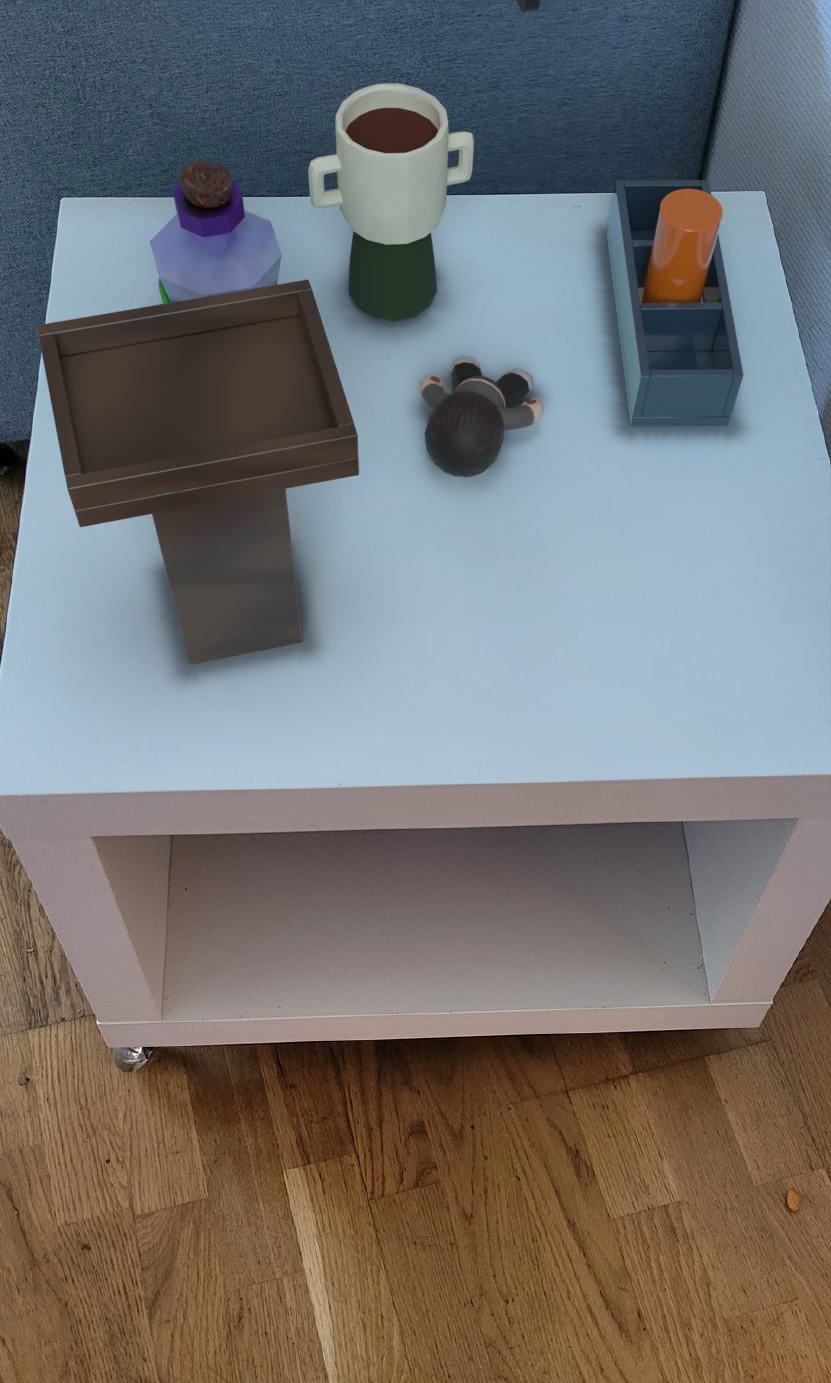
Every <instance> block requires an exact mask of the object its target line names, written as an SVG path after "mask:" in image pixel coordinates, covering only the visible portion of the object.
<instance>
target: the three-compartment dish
mask: <svg viewBox="0 0 831 1383" xmlns="http://www.w3.org/2000/svg"><path fill="white" fill-rule="evenodd" d="M680 189H697V190H701V191H704V192H706V193H708V194H710V195H712V191H711V184H710V180H709V179H701V180H700V179H684V180H683V179H682V180H681V179H680V180H679V179H678V180H677V179H676V180H675V179H672V180H671V179H669V180H668V179H667V180H666V179H665V180H664V179H662V180H659V179H657V180H655V179H654V180H653V179H652V180H649V179H647V180H614V187H613V193H612V198H611V203H610V210H609V216H608V222H607V229H606V241H607V242H606V243H607V249H608V257H609V265H610V274H611V282H612V290H613V298H614V304H615V305H614V306H615V312H616V313H615V314H616V322H617V330H618V338H619V344H620V351H621V352H620V353H621V362H622V368H623V369H622V370H623V377H624V386H625V393H626V401H627V402H626V403H627V409H628V416H629V426H630V427H687V426H689V427H692V426H693V427H694V426H699V427H700V426H701V427H702V426H703V427H704V426H705V427H706V426H708V427H709V426H729V424H730V421H731V416H732V414H733V411H734V408H735V404H736V401H737V398H738V394H739V391H740V388H741V384H742V381H743V379H744V370H743V365H742V359H741V354H740V348H739V343H738V337H737V330H736V326H735V321H734V320H735V319H734V314H733V308H732V303H731V296H730V292H729V286H728V281H727V276H726V269H725V263H724V258H723V253H722V248H721V241H720V234H718V235H717V239H716V243H715V247H714V251H713V255H712V259H711V263H710V267H709V271H708V275H707V279H706V283H705V287H704V291H703V295H702V299H701V302H700V303H641V298H642V293H643V288H644V283H645V278H646V273H647V268H648V263H649V258H650V253H651V248H652V243H653V238H654V233H655V228H656V224H657V219H658V214H659V209H660V204H661V202H662V200H663V199H664V197H665V196H667V195H668V194H669V193H671V192H673V191H676V190H680ZM640 303H641V304H640Z"/></svg>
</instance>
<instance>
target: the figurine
mask: <svg viewBox="0 0 831 1383" xmlns="http://www.w3.org/2000/svg"><path fill="white" fill-rule="evenodd" d="M450 373H451V381H452V385H453V388H454V390H453V393H448V392H446V391H445V387H444V384H443V381H441V379H440V377H439V376H438V375H437V374H435V373H428V374H426V375H424V377H423V378H422V379H421V381H420V383H419V393H420V395H421V397H422V398H423V400H424V401H425V402H426V404H427V406H429V407H430V408H431V409H432V411H431V413H430V415H429V416H428V420H427V423H426V426H425V429H424V440H425V441H424V442H425V448H426V451H427V454H428V455H429V457H430V459H431V461H432V462H433V464H434V465H435V466H437V467H438V468H439V469H440V470H441V471H443V472H444V473H445V474H448V475H450V476H453V477H459V478H471V477H474V476H477V475H480V474H482V473H484V472H486V471H487V470H488V469H489V468H490V467H491V466H492V465H493V464H494V463H495V461H497V458H498V456H499V454H500V452H501V451H500V450H501V448H502V445H503V443H504V438H505V436H504V435H505V431H511V430H517V429H522V428H526V427H529V426H532V425H534V424H537V423H539V421H540V420H541V419H542V417H543V415H544V405H543V402H542V400H541V399H539V397H538V398H537V397H531V398H529V400H528V401H523V400H524V399H525V398H526V397H527V396H528V394H530V392H531V390H532V389H533V388H534V387H535V382H534V377H533V375H532V374H530V373H529V372H528V371H527V370H525V369H520V368H513V369H510V370H508V371H506V372H505V373H504V374H503V375H502V376H500V377H499V379H497V380H496V381H495V380H494V379H491V378H489V377H487V376H484V374H483V371H482V367H481V365H480V363H479V362H478V361H477V360H476V359H474V357H473V358H472V357H469V356H465V355H464V356H460V357H457V358H455V359H454V361H453V363H452V365H451V370H450ZM522 401H523V402H522ZM521 402H522V403H521ZM520 403H521V405H519V406H518V404H520Z"/></svg>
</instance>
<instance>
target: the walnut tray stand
mask: <svg viewBox="0 0 831 1383" xmlns="http://www.w3.org/2000/svg"><path fill="white" fill-rule="evenodd" d="M310 282H311V281H310V280H309V279H302V280H297V281H290V282H284V283H279V284H278V283H277V285H272V286H266V287H260V288H254V289H248V290H242V291H237V292H231V293H225V294H219V295H213V296H207V297H201V298H195V299H189V300H183V301H177V302H171V303H166V304H164V303H161V304H155V305H154V304H153V305H149V306H142V307H137V308H131V309H130V308H129V309H124V310H119V311H113V312H108V313H102V314H95V315H89V316H84V317H77V318H72V319H65V320H60V321H55V322H47V323H42V324H37V326H36V329H37V330H36V331H37V334H38V340H39V346H40V349H41V350H40V351H41V357H42V362H43V367H44V372H45V377H46V383H47V388H48V394H49V400H50V404H51V410H52V415H53V421H54V426H55V432H56V436H57V442H58V447H59V448H58V449H59V452H60V458H61V464H62V469H63V474H64V479H65V484H66V489H67V492H68V496H69V499H70V502H71V504H72V508H73V510H74V514H75V517H76V520H77V524H78V526H79V528H84V527H90V526H96V525H101V524H107V523H113V522H117V521H123V520H127V519H133V518H138V517H143V516H149V515H151V516H152V521H153V525H154V528H155V533H156V537H157V540H158V544H159V548H160V553H161V558H162V561H163V565H164V569H165V573H166V577H167V581H168V585H169V590H170V593H171V597H172V601H173V605H174V609H175V614H176V618H177V621H178V626H179V630H180V634H181V638H182V642H183V645H184V650H185V654H186V658H187V662H188V665H189V666H191V665H196V664H197V665H198V664H201V663H206V662H207V663H208V662H211V661H217V660H220V659H226V658H227V659H228V658H230V657H236V656H241V655H246V654H251V653H256V652H261V651H266V650H270V649H275V648H280V647H285V646H291V645H296V644H301V643H303V634H302V626H301V623H302V622H301V614H300V606H299V598H298V588H297V579H296V568H295V560H294V552H293V550H294V549H293V544H292V542H293V541H292V534H291V523H290V514H289V507H288V497H287V490H288V489H292V488H293V489H294V488H297V487H303V486H309V485H313V484H314V485H315V484H318V483H324V482H330V481H335V480H341V479H346V478H351V477H356V476H359V475H360V460H359V459H360V457H359V435H358V431H357V429H356V426H355V421H354V419H353V418H354V417H353V415H352V411H351V409H350V406H349V402H348V398H347V396H346V394H345V390H344V387H343V383H342V380H341V377H340V374H339V371H338V368H337V364H336V361H335V358H334V355H333V352H332V349H331V345H330V342H329V339H328V335H327V333H326V329H325V326H324V323H323V320H322V316H321V314H320V310H319V307H318V304H317V301H316V298H315V295H314V291H313V288H312V286H311V285H312V284H311V283H310Z"/></svg>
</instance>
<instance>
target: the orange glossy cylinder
mask: <svg viewBox="0 0 831 1383" xmlns="http://www.w3.org/2000/svg"><path fill="white" fill-rule="evenodd" d="M723 212H724V211H723V207H722V204H721V203H720V201H719V200H718V199H717V198H716V197H715V196H714V195H712V194H711V195H710V194H708V193H706V192H704V191H701V190H697V189H680V190H676V191H673V192H671V193H669V194H668V195H667V196H665V197H664V199H663V200H662V202H661V204H660V209H659V214H658V219H657V224H656V228H655V233H654V238H653V243H652V248H651V253H650V258H649V263H648V268H647V273H646V278H645V283H644V288H643V293H642V298H641V303H700V302H701V299H702V295H703V291H704V287H705V283H706V279H707V275H708V271H709V267H710V263H711V259H712V255H713V251H714V247H715V243H716V239H717V235H719V230H720V227H721V223H722V219H723ZM641 303H640V304H641Z"/></svg>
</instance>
